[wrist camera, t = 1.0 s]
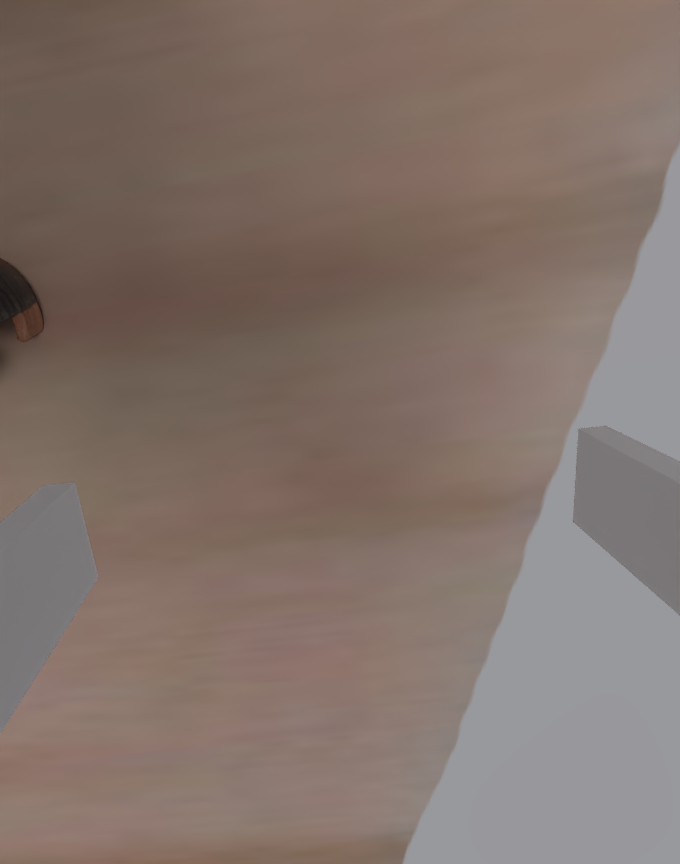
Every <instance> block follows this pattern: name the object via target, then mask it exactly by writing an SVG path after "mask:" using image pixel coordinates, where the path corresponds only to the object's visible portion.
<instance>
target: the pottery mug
mask: <svg viewBox="0 0 680 864" xmlns="http://www.w3.org/2000/svg"><path fill="white" fill-rule="evenodd" d="M10 317H11V318H12V320H13V322H14V325H15V328H16V333H17V339H18V340H19V341H22V342H25V341H28V340H30V339H31V338H32V337H33V336H35V335H37V334H38V333H40V332H41V331H42V330H43V319H42V315H41V311H40V309H39V306H38V303H37V302H36V298H35V296H34V294H33V293H32V291H31V289H30V287H29V285H28V284H27V282H26V281H25V280H24V279H23V277H22V276H21V275H20V273H18V271H17V270H16V269H15V268H13V267H12V266H10V265H9V264H8V263H6V262H5V261H3V260H2V259H0V324H1V323H2V322H4V321H5V320H7V319H9V318H10Z"/></svg>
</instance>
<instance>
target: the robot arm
mask: <svg viewBox="0 0 680 864" xmlns="http://www.w3.org/2000/svg"><path fill="white" fill-rule="evenodd" d="M577 447H578V448H577V463H576V480H575V498H574V514H573V522H574V523H575V524H576V525H577V526H579V527H580V528H581V529H582V530H583V531H584V532H585V533H586V534H588V535H589V536H590V537H591V538H592V539H593V540H594V541H595V542H597V543H598V544H599V545H600V546H601V547H602V548H603V549H605V550H606V551H607V552H608V553H609V554H610V555H611V556H613V557H614V558H615V559H616V560H617V561H618V562H619V563H621V564H622V565H623V566H624V567H625V568H626V569H628V570H629V571H630V572H631V573H632V574H633V575H634V576H635V577H637V578H638V579H639V580H640V581H641V582H642V583H643V584H645V585H646V586H647V587H648V588H649V589H650V590H651V591H653V592H654V593H655V594H656V595H657V596H658V597H659V598H661V599H662V600H663V601H664V602H665V603H666V604H667V605H668V606H670V607H671V608H672V609H673V610H674V611H675V612H677V613H678V614H679V615H680V461H678V460H676V459H674V458H672V457H669V456H667V455H665V454H663V453H661V452H659V451H657V450H655V449H653V448H651V447H649V446H646V445H645V444H642V443H640V442H638V441H636V440H634V439H632V438H630V437H628V436H626V435H624V434H622V433H620V432H618V431H616V430H613V429H611V428H609V427H607V426H600V427H591V428H581V429H579V430H578V446H577ZM97 579H98V574H97V570H96V566H95V562H94V558H93V554H92V550H91V546H90V542H89V538H88V534H87V530H86V526H85V522H84V518H83V514H82V510H81V506H80V502H79V498H78V494H77V490H76V486H75V482H71V483H61V484H52V485H43V486H42V487H41V488H40V489H38V490H37V491H36V492H35V493H34V494H33V495H31V496H30V497H29V498H28V499H27V500H26V501H24V502H23V503H22V504H21V505H20V506H19V507H18V508H16V509H15V510H14V511H13V512H12V513H11V514H9V515H8V516H7V517H6V518H5V519H4V520H2V521H1V522H0V733H1V732H2V730H3V729H4V727H5V725H6V724H7V722H8V721H9V719H10V717H11V716H12V714H13V713H14V711H15V709H16V708H17V706H18V705H19V703H20V701H21V700H22V698H23V697H24V695H25V693H26V692H27V690H28V689H29V687H30V686H31V684H32V682H33V681H34V679H35V678H36V676H37V674H38V673H39V671H40V670H41V668H42V666H43V665H44V663H45V662H46V660H47V658H48V657H49V655H50V654H51V652H52V651H53V649H54V647H55V646H56V644H57V643H58V641H59V639H60V638H61V636H62V635H63V633H64V631H65V630H66V628H67V627H68V625H69V623H70V622H71V620H72V619H73V617H74V615H75V614H76V612H77V611H78V609H79V608H80V606H81V604H82V603H83V601H84V600H85V598H86V596H87V595H88V593H89V592H90V590H91V588H92V587H93V585H94V584H95V582H96V580H97Z"/></svg>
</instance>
